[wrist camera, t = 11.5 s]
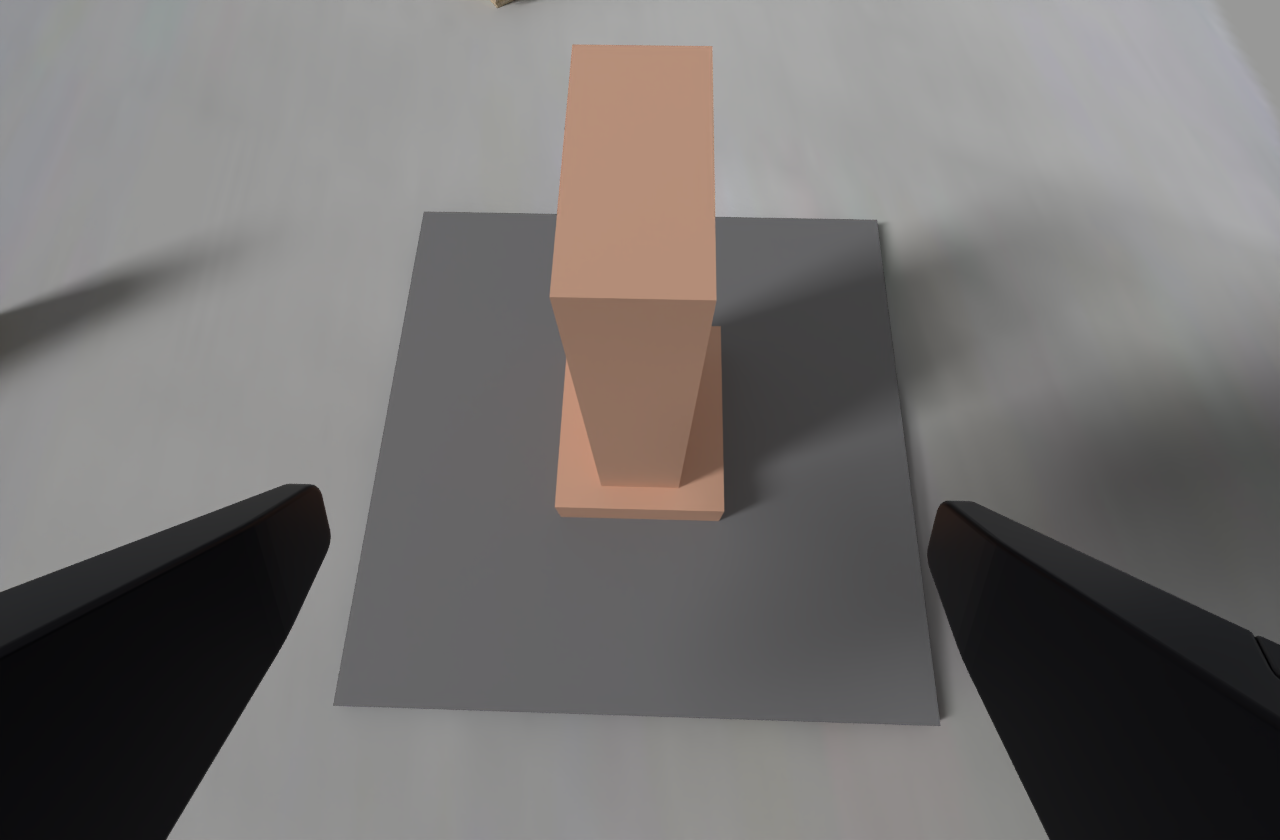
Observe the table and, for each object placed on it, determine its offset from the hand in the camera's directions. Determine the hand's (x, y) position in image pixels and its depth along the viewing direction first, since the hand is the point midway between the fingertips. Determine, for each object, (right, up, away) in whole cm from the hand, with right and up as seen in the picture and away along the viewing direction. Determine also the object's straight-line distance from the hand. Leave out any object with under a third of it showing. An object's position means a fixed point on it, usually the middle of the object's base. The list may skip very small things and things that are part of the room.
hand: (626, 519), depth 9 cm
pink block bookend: (0, +1, +12) cm, 13 cm away
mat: (0, +1, +13) cm, 13 cm away
